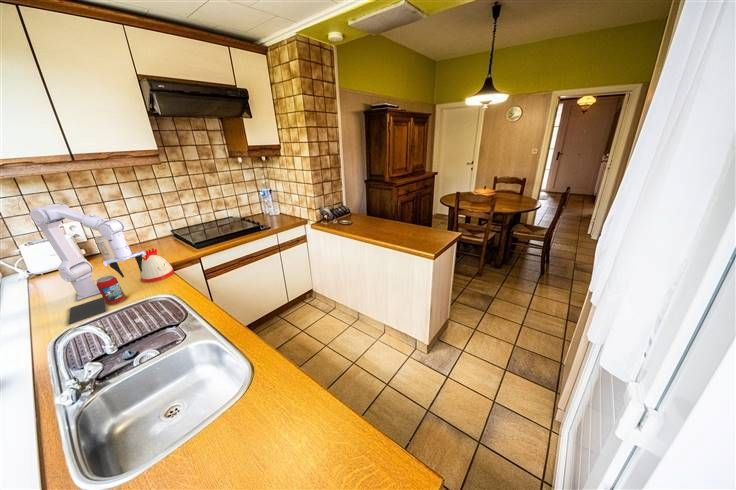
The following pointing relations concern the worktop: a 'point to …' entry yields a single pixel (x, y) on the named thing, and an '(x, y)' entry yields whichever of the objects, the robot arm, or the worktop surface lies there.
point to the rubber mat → (87, 310)
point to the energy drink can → (104, 247)
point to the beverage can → (110, 290)
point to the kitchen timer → (155, 267)
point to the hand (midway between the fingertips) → (132, 273)
